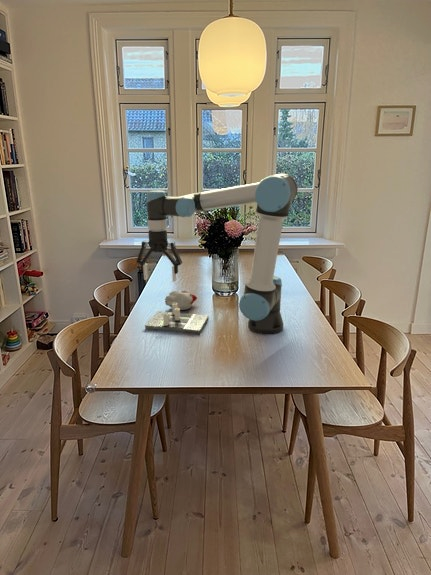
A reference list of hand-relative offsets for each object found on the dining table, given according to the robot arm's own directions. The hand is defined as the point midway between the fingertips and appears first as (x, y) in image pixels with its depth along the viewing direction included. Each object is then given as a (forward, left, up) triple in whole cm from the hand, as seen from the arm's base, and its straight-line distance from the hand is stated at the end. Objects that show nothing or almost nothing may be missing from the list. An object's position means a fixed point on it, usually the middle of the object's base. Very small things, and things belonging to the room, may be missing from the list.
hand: (160, 279), depth 170 cm
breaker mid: (-7, 0, -18) cm, 19 cm away
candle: (-4, -19, -21) cm, 29 cm away
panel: (-7, 0, -20) cm, 21 cm away
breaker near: (-4, +6, -18) cm, 19 cm away
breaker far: (-4, -6, -18) cm, 19 cm away
